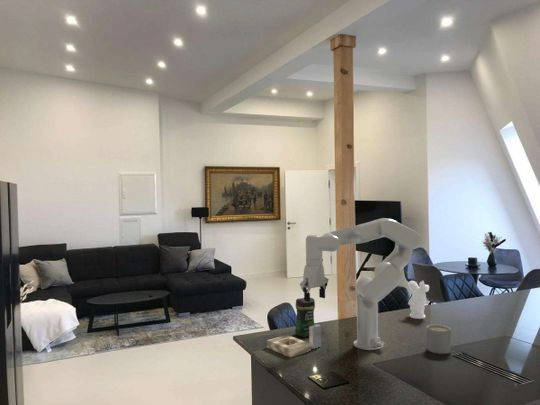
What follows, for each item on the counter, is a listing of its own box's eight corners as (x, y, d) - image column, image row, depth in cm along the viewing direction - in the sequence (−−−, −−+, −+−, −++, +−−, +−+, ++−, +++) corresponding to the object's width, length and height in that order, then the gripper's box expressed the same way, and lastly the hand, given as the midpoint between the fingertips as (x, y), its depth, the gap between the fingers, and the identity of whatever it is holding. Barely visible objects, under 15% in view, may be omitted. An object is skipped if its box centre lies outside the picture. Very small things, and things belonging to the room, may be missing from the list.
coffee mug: (440, 355, 184) (440, 332, 184) (422, 348, 193) (421, 326, 193) (460, 349, 191) (460, 327, 191) (441, 343, 199) (441, 322, 199)
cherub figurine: (405, 315, 248) (404, 277, 248) (423, 313, 252) (422, 276, 252) (418, 320, 236) (417, 281, 236) (437, 318, 240) (436, 279, 240)
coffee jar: (301, 338, 207) (301, 300, 207) (293, 334, 215) (292, 297, 214) (317, 335, 212) (317, 298, 212) (309, 331, 219) (309, 295, 219)
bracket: (321, 347, 196) (320, 325, 196) (313, 349, 193) (313, 327, 192) (312, 343, 200) (312, 322, 200) (304, 346, 197) (304, 324, 197)
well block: (310, 351, 190) (310, 343, 190) (290, 357, 183) (290, 349, 183) (287, 341, 203) (286, 334, 203) (267, 347, 195) (267, 340, 195)
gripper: (321, 259, 203) (322, 295, 203) (294, 263, 192) (295, 301, 193) (333, 261, 197) (333, 297, 197) (306, 265, 186) (306, 304, 187)
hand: (314, 299), depth 195 cm, fingers open, 9 cm apart
